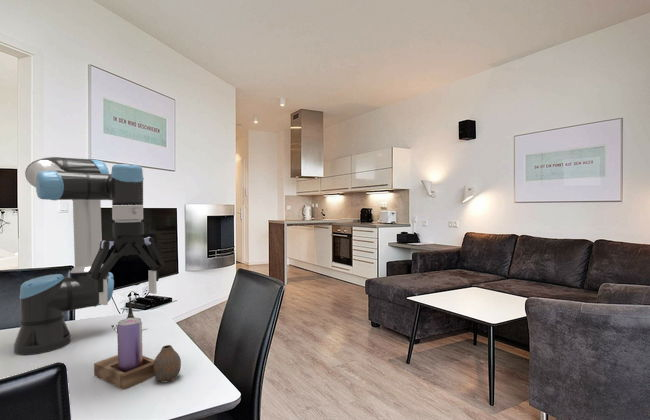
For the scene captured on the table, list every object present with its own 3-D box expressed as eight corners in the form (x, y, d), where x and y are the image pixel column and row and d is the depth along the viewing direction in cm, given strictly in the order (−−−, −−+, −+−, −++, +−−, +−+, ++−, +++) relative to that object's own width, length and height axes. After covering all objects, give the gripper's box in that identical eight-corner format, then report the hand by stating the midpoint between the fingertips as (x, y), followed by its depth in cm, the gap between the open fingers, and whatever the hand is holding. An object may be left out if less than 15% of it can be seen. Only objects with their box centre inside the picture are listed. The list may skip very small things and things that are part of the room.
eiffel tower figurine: (109, 327, 144) (109, 293, 144) (137, 321, 150) (137, 289, 150) (119, 337, 133) (118, 300, 132) (149, 330, 139) (148, 295, 139)
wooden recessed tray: (94, 375, 101) (94, 363, 101) (129, 362, 109) (129, 350, 109) (123, 389, 93) (123, 376, 93) (159, 374, 101) (159, 361, 101)
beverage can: (132, 381, 96) (131, 324, 96) (112, 379, 98) (111, 323, 97) (147, 370, 102) (146, 317, 102) (128, 369, 103) (127, 316, 103)
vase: (173, 370, 103) (172, 340, 103) (186, 377, 99) (185, 345, 99) (148, 379, 98) (148, 347, 98) (161, 387, 94) (160, 353, 94)
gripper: (85, 223, 87) (86, 312, 87) (176, 219, 108) (177, 290, 108) (70, 223, 91) (72, 307, 91) (161, 219, 112) (162, 287, 112)
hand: (129, 298), depth 100 cm, fingers open, 13 cm apart
